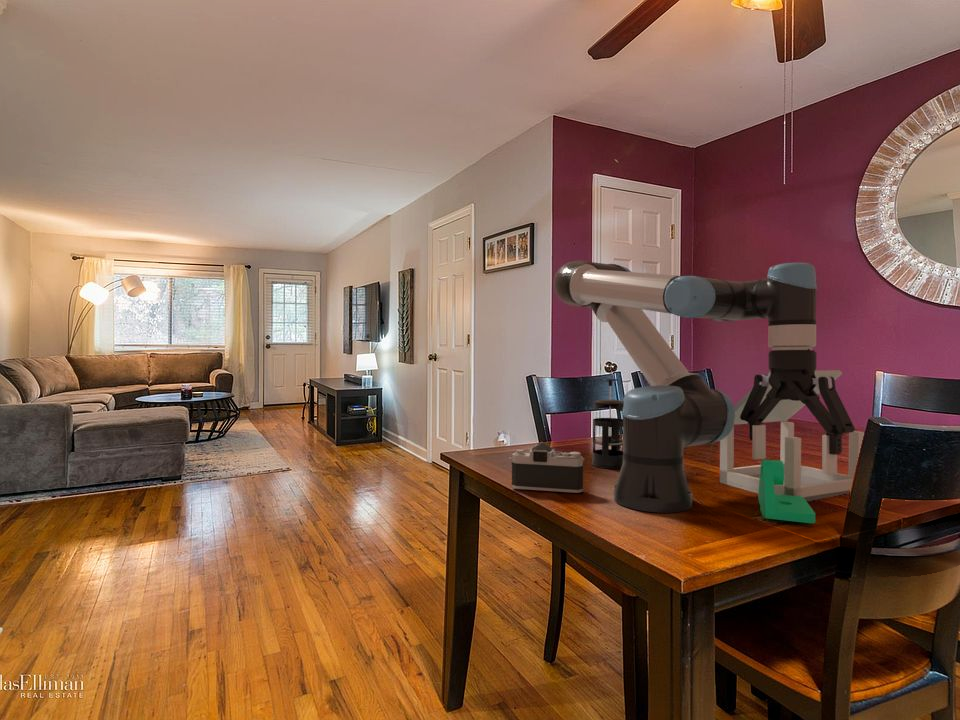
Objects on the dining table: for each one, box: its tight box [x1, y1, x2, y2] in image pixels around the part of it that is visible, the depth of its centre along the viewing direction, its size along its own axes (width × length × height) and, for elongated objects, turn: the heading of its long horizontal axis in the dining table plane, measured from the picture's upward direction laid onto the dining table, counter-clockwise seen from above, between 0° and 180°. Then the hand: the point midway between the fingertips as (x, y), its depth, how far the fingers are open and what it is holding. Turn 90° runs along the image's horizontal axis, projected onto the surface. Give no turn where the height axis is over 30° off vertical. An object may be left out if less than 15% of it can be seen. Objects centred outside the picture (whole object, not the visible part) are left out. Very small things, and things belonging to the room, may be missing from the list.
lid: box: [733, 369, 843, 425], centre depth 118 cm, size 22×18×2 cm
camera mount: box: [757, 459, 816, 524], centre depth 95 cm, size 12×8×10 cm, turn 157°
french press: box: [591, 378, 624, 470], centre depth 138 cm, size 12×9×23 cm
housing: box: [719, 421, 865, 502], centre depth 115 cm, size 22×18×13 cm
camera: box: [511, 441, 586, 494], centre depth 115 cm, size 16×9×10 cm, turn 76°
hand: (792, 465), depth 94 cm, fingers open, 13 cm apart
